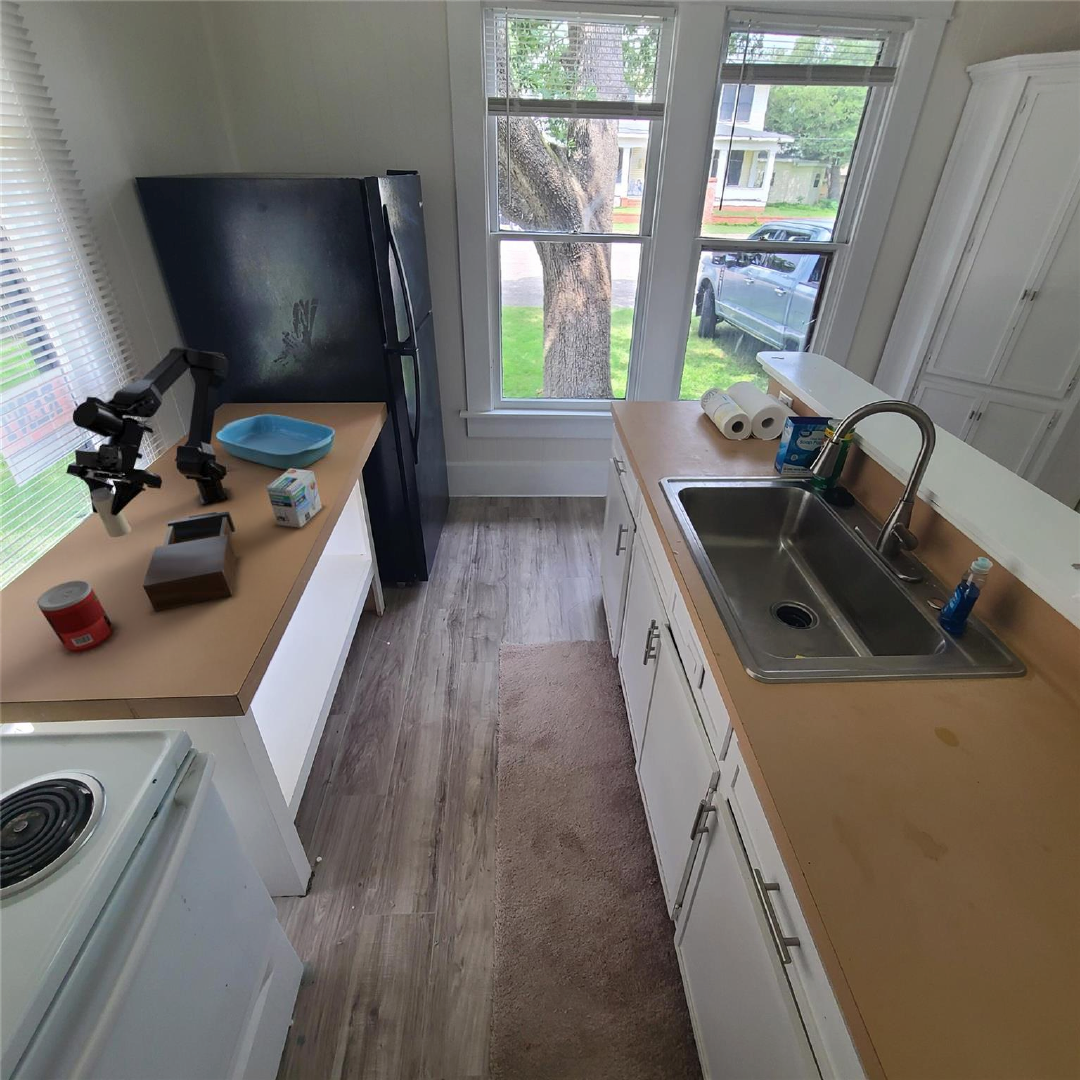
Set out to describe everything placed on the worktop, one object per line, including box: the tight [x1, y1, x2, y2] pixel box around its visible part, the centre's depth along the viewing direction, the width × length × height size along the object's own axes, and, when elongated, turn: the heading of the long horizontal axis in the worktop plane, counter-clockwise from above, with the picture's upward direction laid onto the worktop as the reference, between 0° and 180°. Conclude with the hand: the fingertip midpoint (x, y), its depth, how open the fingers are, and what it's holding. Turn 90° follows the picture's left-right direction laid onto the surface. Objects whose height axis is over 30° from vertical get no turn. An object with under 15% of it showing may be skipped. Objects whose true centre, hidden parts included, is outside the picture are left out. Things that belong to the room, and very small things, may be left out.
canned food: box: [36, 580, 114, 653], centre depth 107 cm, size 8×8×11 cm
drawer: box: [162, 511, 236, 546], centre depth 133 cm, size 17×13×5 cm
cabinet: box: [142, 535, 237, 613], centre depth 122 cm, size 14×14×7 cm
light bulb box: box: [266, 469, 323, 529], centre depth 144 cm, size 11×7×11 cm, turn 168°
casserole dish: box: [215, 413, 336, 471], centre depth 175 cm, size 37×22×7 cm, turn 66°
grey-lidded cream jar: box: [91, 488, 132, 538], centre depth 124 cm, size 4×4×10 cm
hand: (104, 513), depth 123 cm, fingers closed on grey-lidded cream jar, 4 cm apart
